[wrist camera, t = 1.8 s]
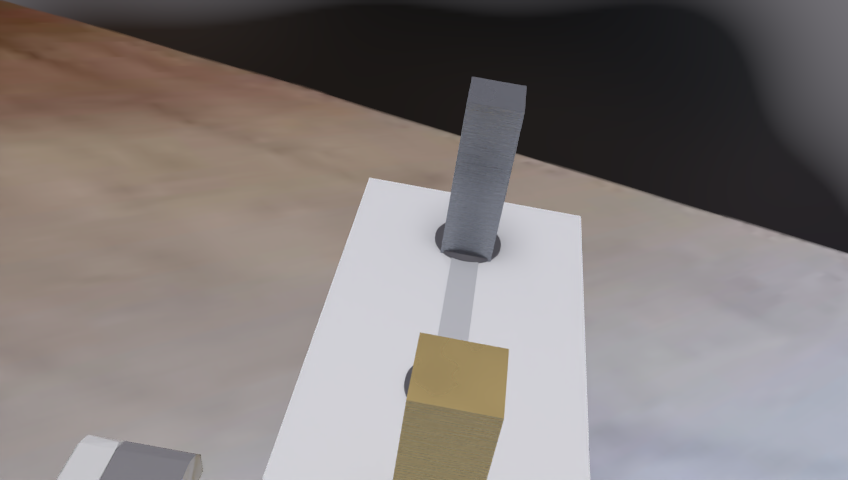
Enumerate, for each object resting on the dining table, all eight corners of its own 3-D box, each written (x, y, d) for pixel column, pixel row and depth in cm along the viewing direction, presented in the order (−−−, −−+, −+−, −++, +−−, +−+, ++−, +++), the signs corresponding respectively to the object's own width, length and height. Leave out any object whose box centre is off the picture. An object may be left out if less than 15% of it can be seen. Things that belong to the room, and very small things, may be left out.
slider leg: (454, 591, 30) (504, 418, 24) (376, 576, 30) (406, 400, 24) (462, 522, 33) (508, 349, 27) (389, 508, 33) (420, 332, 27)
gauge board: (587, 715, 29) (599, 694, 28) (213, 640, 30) (212, 616, 29) (575, 234, 53) (581, 213, 52) (367, 196, 54) (369, 175, 53)
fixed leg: (490, 262, 47) (524, 112, 41) (440, 252, 48) (467, 101, 41) (493, 232, 50) (526, 86, 44) (446, 223, 50) (472, 76, 44)
